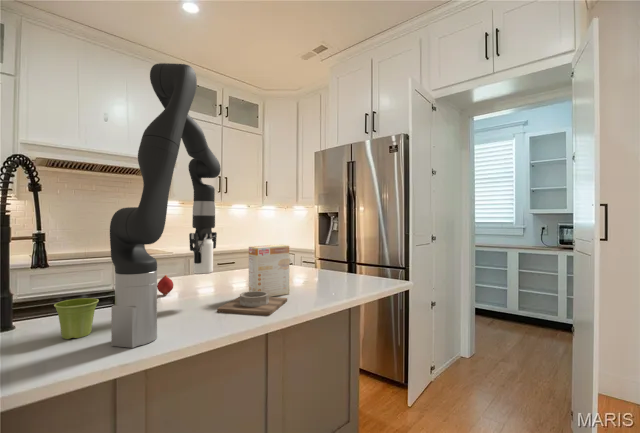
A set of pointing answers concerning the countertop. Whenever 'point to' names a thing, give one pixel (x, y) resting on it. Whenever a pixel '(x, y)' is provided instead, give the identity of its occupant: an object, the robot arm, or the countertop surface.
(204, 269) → the can
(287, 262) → the coffeecake box
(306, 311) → the countertop surface
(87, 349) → the countertop surface
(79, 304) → the plant pot
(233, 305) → the board
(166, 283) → the onion
